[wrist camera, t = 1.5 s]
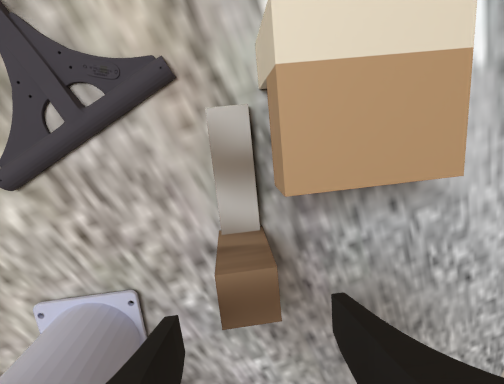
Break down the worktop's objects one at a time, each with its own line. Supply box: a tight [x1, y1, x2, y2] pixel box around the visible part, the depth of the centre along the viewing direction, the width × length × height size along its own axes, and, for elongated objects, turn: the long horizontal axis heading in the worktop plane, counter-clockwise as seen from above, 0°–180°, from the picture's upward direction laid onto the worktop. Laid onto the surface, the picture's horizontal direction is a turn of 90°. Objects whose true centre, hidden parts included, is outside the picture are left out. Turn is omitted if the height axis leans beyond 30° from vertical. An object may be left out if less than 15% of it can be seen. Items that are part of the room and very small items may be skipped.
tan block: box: [255, 0, 477, 197], centre depth 17 cm, size 10×10×7 cm
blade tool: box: [205, 104, 282, 330], centre depth 17 cm, size 13×4×7 cm, turn 6°
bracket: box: [0, 1, 176, 191], centre depth 17 cm, size 14×15×3 cm
